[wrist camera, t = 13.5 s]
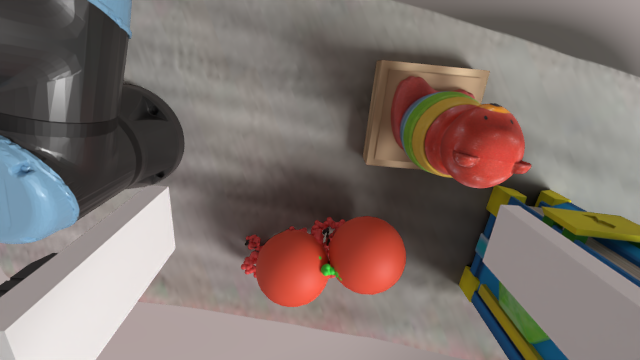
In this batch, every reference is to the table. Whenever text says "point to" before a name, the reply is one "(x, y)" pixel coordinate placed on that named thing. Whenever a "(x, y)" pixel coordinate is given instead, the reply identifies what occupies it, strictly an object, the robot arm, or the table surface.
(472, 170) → the stacking bear
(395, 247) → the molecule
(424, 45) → the table surface
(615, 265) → the decorative book
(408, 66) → the oak stand
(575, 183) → the table surface
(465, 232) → the table surface
